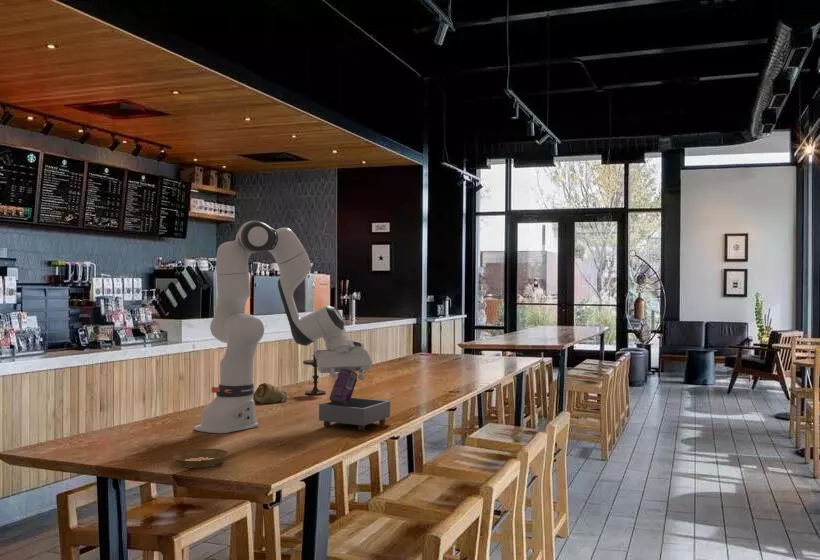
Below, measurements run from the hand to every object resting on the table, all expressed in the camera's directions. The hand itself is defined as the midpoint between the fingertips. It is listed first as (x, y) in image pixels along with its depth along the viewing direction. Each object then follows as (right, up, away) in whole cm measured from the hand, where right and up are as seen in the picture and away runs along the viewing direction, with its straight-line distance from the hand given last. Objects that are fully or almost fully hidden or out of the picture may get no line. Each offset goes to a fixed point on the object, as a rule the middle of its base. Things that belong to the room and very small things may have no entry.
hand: (350, 379), depth 264 cm
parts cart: (+2, -16, -4) cm, 16 cm away
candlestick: (-21, -15, +66) cm, 71 cm away
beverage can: (-4, -8, -5) cm, 10 cm away
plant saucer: (-37, -16, -57) cm, 69 cm away
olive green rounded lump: (-37, -15, +45) cm, 61 cm away
